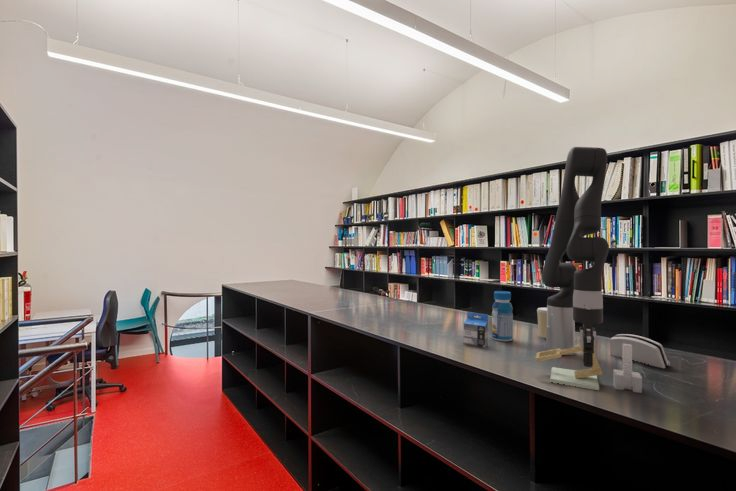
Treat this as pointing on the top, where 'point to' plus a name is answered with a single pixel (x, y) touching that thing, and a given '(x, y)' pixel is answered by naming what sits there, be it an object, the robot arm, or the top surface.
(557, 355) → the square loop paddle
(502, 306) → the beverage bottle
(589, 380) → the mat
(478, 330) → the label tape cartridge
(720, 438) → the top surface
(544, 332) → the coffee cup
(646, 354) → the white arched piece
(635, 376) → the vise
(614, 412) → the top surface
